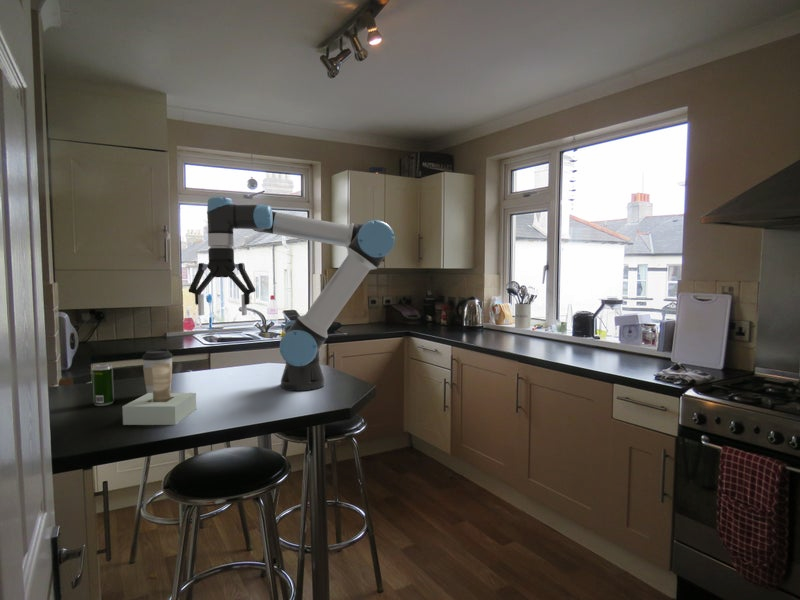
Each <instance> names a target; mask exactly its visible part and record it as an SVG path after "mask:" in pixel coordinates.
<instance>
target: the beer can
mask: <svg viewBox="0 0 800 600" xmlns="http://www.w3.org/2000/svg"><path fill="white" fill-rule="evenodd" d="M112 365H113V364H112V363H99V364H94V365H92V369H91V373H92V393H93V394H92V395H93V405H94V406H96V407H104V406H110V405H112V404H114V401H115V392H114V367H113V366H112Z"/></svg>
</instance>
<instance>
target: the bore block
mask: <svg viewBox="0 0 800 600" xmlns="http://www.w3.org/2000/svg"><path fill="white" fill-rule="evenodd" d="M121 407H122V425H123V426H127V425H128V426H131V425H132V426H133V425H134V426H135V425H136V426H141V425H142V426H155V425H156V426H163V425H164V426H170V425H171V426H176V425H178V423H180V422H181V421H183V420H184V419H186V418H187V417H188V416H190V415H191V414H192V413H193V412H195V411H197V392H170V400H169V401H167V402H153V393H147V392H146V394H144V395H142V396H140V397H138V398H136V399H135V400H132V401H130V402H128V403H126V404H124V405H123V406H121Z"/></svg>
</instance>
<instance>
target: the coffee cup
mask: <svg viewBox="0 0 800 600" xmlns="http://www.w3.org/2000/svg"><path fill="white" fill-rule="evenodd" d="M141 360H142V364H143V365H142V370H143V376H144V378H143V379H144V384H145V390H146V394H147V393H153V373H152V364H155V363H170V393H172V392H171V389H172V388H171V387H172V386H171V385H172V376H173V353H172V352H170V351H169V350H168V349H167V348H162V347H161V348H159V349H152V350H148V351H145V353H144V354H143V355H142V358H141Z"/></svg>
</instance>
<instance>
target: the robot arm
mask: <svg viewBox="0 0 800 600" xmlns="http://www.w3.org/2000/svg"><path fill="white" fill-rule="evenodd" d="M206 207H207V209H206V214H207V216H206V217H207V245H208V247H209V248H208V249H207V250H208V251H207V252H208V253H207V254H208V263H204V262H199V263H198V265H197V271H196V273H195V275H194V278H193V280H192V282H191V284H190V286H189V289H188V292H189V293H190V294H191V293H192V294H194V301H195V302H194V303H195V305H196V306H197V310H198V316H204V315H205V299H204V298H205V297H204V296H205V295H204V293H202V292H203V291H204V290H205V289H206V288H207V286H208V285H209V284H210V283H211V282H212V281H213V279H215V278H229V279H231V280H232V282H233V283H234V284H235V285H236V286H237V287H238V289H239V290H240V291H241V292H242V293H243V294H241V315H242V316H247V315H248V310H247V309H248V307H247V305H250V304H251V303H250V302H251V301H250V299H251V298H250V296H251V294H252V293H255V292H256V288H255V286H254V284H253V283H252V280H251V278H250V277H249V275H248V273H247V271H246V266H245V263H244V262H239V263H235V250H234V248H233V247H234V229H235V230H236V229H237V230H238V229H239V230H240V229H242V230H245V229H247V230H253V231H255V232H257V233H265V234H266V233H267V234H272V235H278V236H284V237H289V238H293V239H295V238H296V239H299V240H305V241H311V242H315V243H316V242H317V243H321V244H328V245H333V246H339V247H344V248H346V249H347V256H346V257H345V259H344V260H343V261H342V262H341V264H340V266H339V267H338V268H337V270H336V271H335V272H334V274H333V276H331V278H330V279H329V280H328V282H327V284H326V285H325V287H324V288H323V290H321V292H320V294H319V295H318V296H317V298H316V299H315V300H314V302H313V303H312V305H311V306H310V307H309V309H308V311H307V312H306V313H305V314H304V315H299V316H297V317H296V319H295V320H289V321H286V322H285V324H284V332H285V333H284V335H283V336H282V337H281V339H280V342H279V353H280V356H281V358H282V359H283V360H284V361H285V366H284V369H283V373H282V376H281V379H280V387H281V389H284V390H286V389H287V391H295V390H297V391H299V392H300V391H303V392H304V391H312V390H311V389H313V390H318V389H320V387H321V388H322V386H323V387H325V385H324V384H325V383H326V382H325V381H326V380H325V376H324V373H323V370H322V367H321V364H320V349H321V348H322V345H324V343H325V342H326V340H327V339H328V338H329V336H328V335H329V334H328V330H329V328H330V327H331V326H332V324H333V323H334V321H335V320H336V318H337V317H338V316H339V314H340V312H341V311H342V310H343V309H344V307H345V306H346V305H347V303H348V302H349V300H350V299H351V297H352V296H353V294H354V293H355V291H357V289H358V287H359V286H360V285H361V283H362V282H363V281H364V279H365V278H366V276H367V275H368V274H369V272H371V270H372V271H373V270H377V269H378V267H379V266H380V265H381V263H382V262H383V260H384V259H385V258H386V256H387V255H389V254H390V253H391V252H392V251H393V249H394V246H395V242H396V235H395V232H394V230H393V228H392V227H391V226H390V225H389V224H388V223H386V222H384V221H383V220H382V221H381V220H379V219H372V220H369V221H367V222H365V223H364V224H362V223H356V222H355V223H354V222H352V223H350V224H344V223H340V222H339V223H337V222H332V221H326V220H322V219H315V218H309V217H306V216H299V215H296V214H295V215H293V214H288V213H282V212H277V211H274V210H272V206H271V205H267V204H235V203H233V199H232V198H229V197H223V196H222V197H221V196H216V197H215V196H213V197H210V198H208V199H207V206H206ZM235 269H236V270H237V271H239V274H240V275H241V278H242V280H243V281H241V280H240V278H239V277H238V276H237V274H235V272H234V270H235ZM206 270H209V273H208V274H207V276H206V277H205V278H204V280H203V281H202V282H201V283H200V281H201V280H202V277H203V276H204V273H205V271H206ZM243 282H244V283H245V284H244V283H243ZM317 388H318V389H317ZM297 391H296V392H297Z"/></svg>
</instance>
